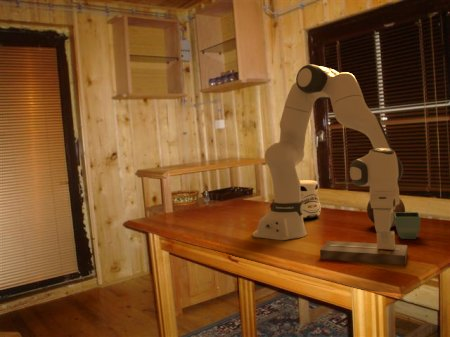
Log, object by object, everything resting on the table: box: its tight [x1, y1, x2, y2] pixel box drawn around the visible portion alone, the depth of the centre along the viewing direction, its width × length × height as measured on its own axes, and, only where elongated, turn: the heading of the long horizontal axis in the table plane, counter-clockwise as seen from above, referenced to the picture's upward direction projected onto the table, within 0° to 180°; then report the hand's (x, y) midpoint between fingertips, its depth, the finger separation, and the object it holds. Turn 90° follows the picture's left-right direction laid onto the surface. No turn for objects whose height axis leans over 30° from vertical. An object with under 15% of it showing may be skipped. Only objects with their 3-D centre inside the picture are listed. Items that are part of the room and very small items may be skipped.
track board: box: [319, 240, 409, 266], centre depth 136 cm, size 26×12×3 cm, turn 63°
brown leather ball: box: [366, 197, 406, 228], centre depth 173 cm, size 15×15×15 cm
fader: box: [376, 230, 396, 250], centre depth 132 cm, size 5×4×5 cm
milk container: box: [299, 179, 322, 220], centre depth 203 cm, size 17×17×18 cm
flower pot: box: [394, 211, 421, 240], centre depth 155 cm, size 9×9×9 cm
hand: (386, 240), depth 132 cm, fingers closed on fader, 4 cm apart
